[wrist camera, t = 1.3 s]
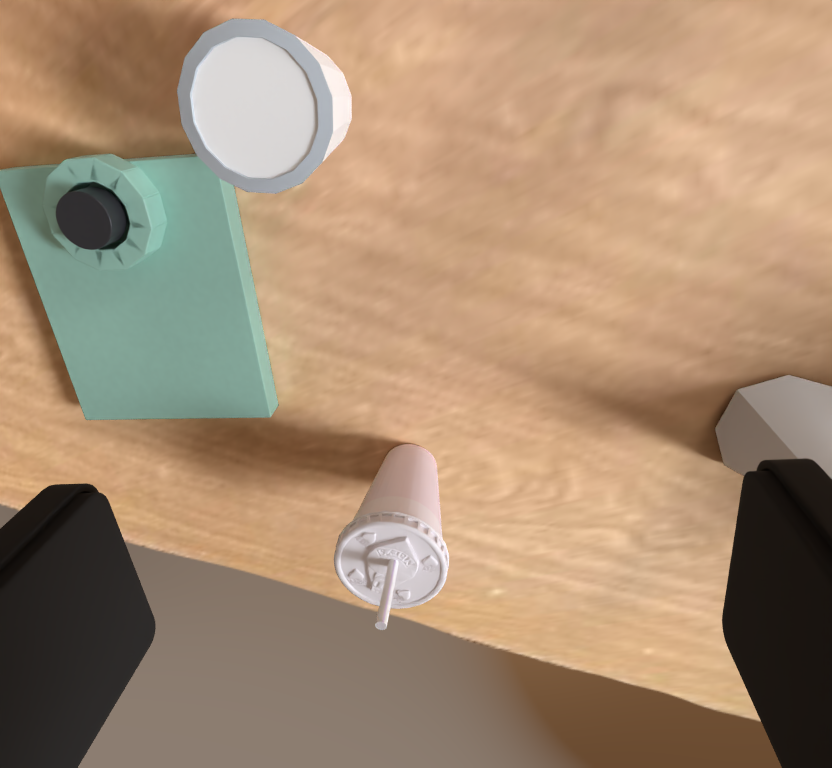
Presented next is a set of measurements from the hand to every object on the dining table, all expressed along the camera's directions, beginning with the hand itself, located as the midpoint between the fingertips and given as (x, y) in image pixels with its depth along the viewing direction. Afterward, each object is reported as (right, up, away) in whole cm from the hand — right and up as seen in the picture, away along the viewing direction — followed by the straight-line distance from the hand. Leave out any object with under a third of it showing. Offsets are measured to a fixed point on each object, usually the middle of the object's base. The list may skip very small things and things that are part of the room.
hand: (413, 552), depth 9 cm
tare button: (-17, +12, +23) cm, 31 cm away
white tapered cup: (-6, +17, +23) cm, 29 cm away
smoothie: (0, -3, +33) cm, 33 cm away
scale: (-16, +8, +29) cm, 34 cm away
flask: (+22, 0, +28) cm, 36 cm away
